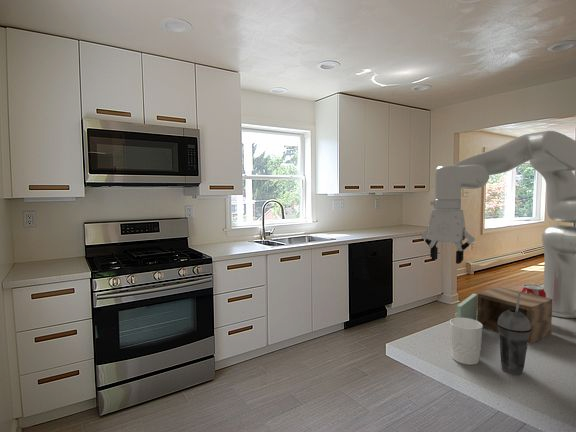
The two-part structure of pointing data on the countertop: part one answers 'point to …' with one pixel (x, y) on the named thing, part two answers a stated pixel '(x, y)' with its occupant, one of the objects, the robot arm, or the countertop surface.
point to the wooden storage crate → (506, 299)
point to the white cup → (465, 340)
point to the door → (467, 308)
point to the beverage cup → (513, 339)
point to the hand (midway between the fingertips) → (446, 261)
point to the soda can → (534, 290)
